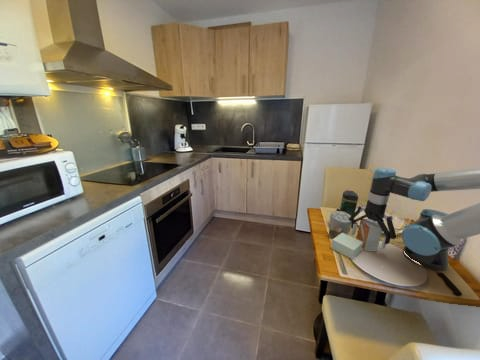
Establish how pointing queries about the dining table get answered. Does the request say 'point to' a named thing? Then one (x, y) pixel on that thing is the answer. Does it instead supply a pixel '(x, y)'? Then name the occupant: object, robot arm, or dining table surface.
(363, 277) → the dining table surface
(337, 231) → the walnut cube
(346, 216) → the lumpy-topped squat cylinder
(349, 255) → the pedestal
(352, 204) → the coffee jar
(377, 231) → the small box
